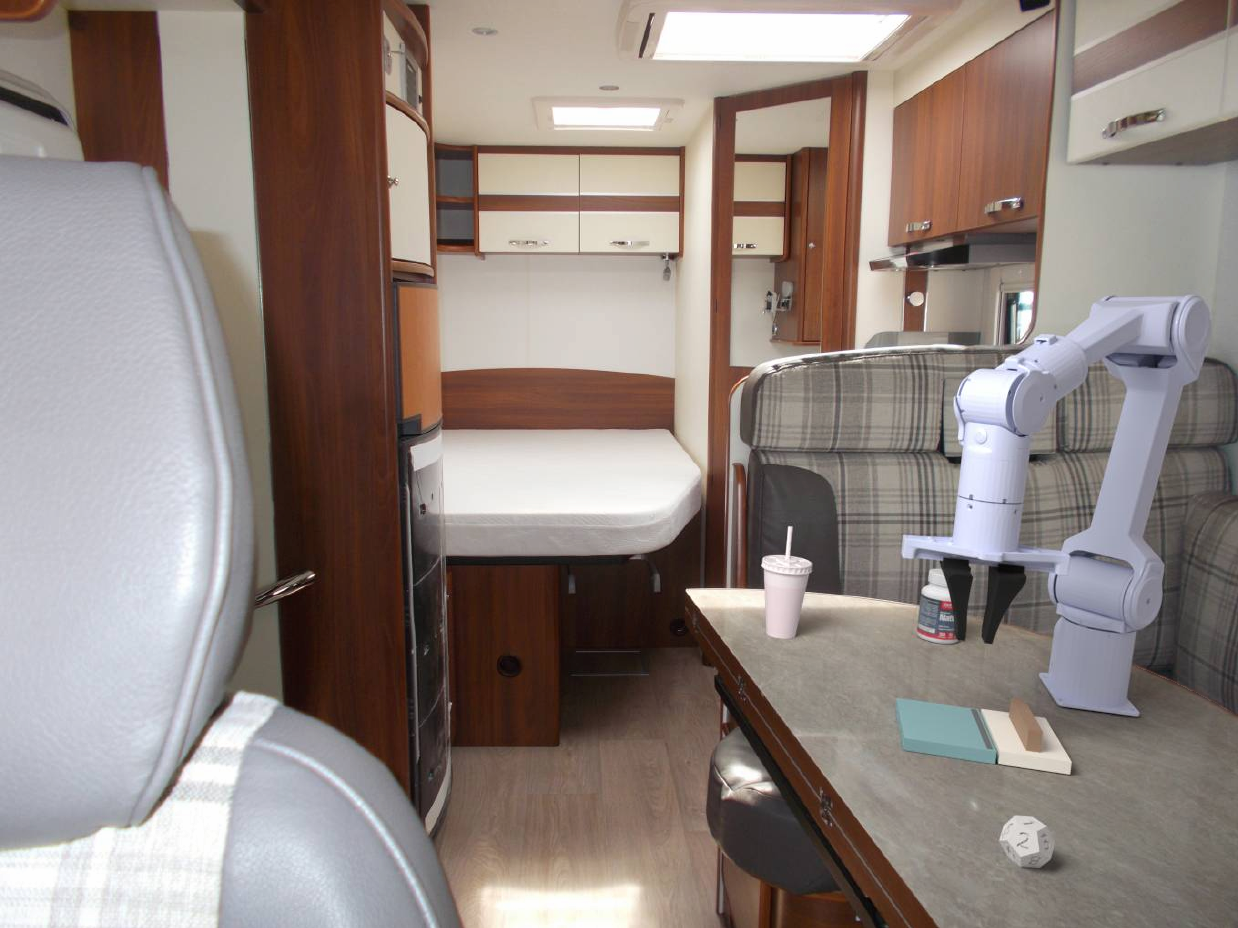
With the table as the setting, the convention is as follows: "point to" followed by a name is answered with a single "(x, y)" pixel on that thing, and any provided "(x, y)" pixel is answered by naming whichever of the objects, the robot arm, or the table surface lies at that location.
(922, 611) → the pill bottle
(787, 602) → the smoothie
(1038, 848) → the game die
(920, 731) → the teal flat block
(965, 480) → the robot arm
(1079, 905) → the table surface
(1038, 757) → the cream block with bar
